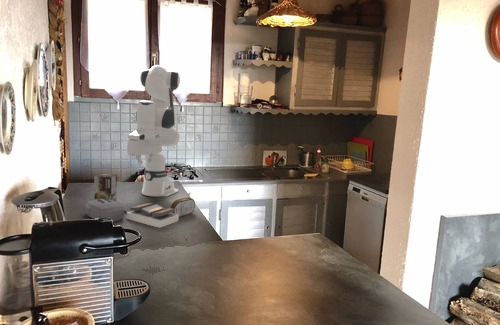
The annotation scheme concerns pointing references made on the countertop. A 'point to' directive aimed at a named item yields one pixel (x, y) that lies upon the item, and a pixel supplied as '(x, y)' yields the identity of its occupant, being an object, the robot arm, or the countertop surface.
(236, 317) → the countertop surface
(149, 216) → the white rectangular tray
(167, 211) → the flat block
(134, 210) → the rocker
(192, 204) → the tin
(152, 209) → the rocker
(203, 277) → the countertop surface
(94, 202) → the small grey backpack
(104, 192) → the coffee box
